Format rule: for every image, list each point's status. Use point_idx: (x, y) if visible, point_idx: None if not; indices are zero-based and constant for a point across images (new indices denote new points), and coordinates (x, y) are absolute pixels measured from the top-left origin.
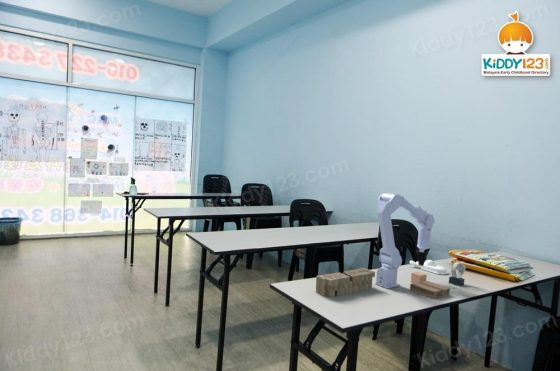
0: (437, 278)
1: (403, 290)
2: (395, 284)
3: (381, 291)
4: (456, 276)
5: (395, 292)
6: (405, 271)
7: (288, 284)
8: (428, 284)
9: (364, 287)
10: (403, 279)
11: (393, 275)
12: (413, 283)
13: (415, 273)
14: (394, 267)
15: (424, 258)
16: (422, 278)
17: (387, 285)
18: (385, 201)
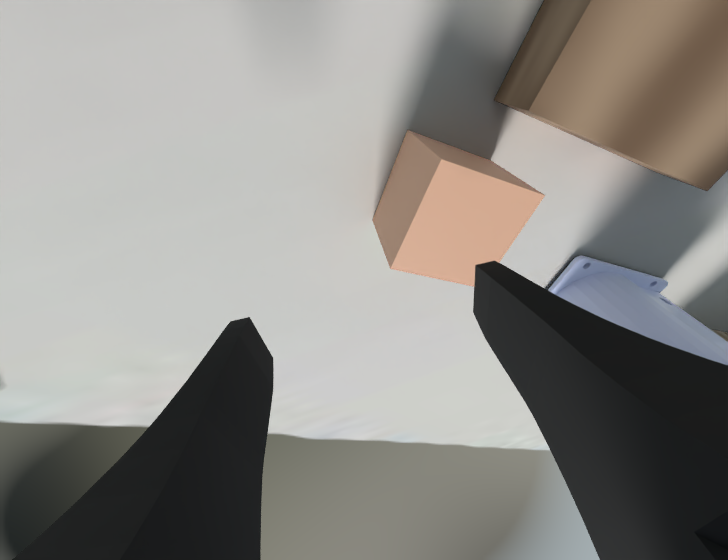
0: (49, 98)
1: (669, 204)
2: (616, 275)
3: (718, 278)
4: None
5: (725, 222)
6: (189, 362)
7: None
8: (688, 31)
9: (724, 338)
10: (403, 297)
11: (693, 327)
12: (684, 177)
13: (481, 259)
14: None
15: (634, 343)
16: (491, 169)
17: (656, 294)
18: None
